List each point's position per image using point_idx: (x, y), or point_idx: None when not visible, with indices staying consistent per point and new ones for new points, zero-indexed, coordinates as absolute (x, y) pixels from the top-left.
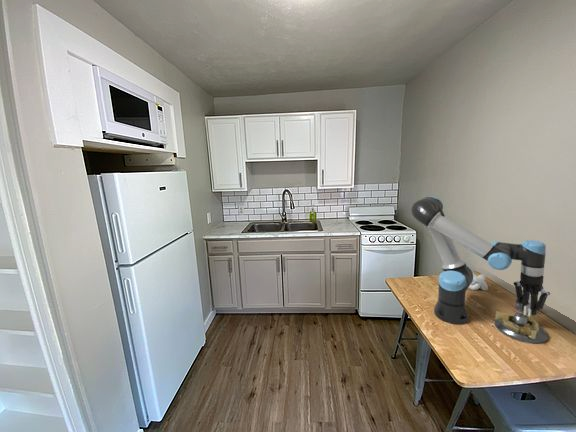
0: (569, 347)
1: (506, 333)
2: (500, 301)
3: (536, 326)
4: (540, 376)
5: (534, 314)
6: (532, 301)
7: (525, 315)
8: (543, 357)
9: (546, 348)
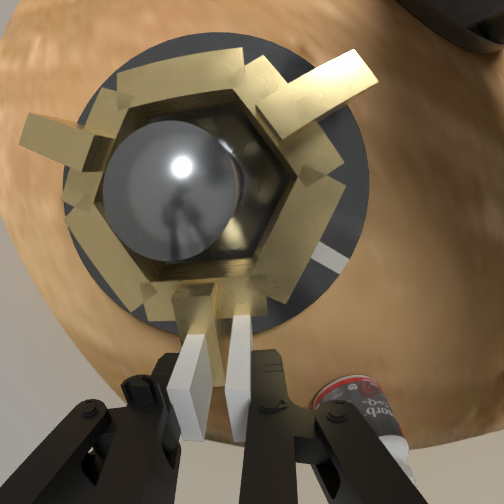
0: (42, 289)
1: (184, 38)
2: (448, 371)
3: (95, 249)
4: (8, 22)
5: (157, 363)
6: (116, 491)
7: (155, 257)
8: (25, 99)
9: (47, 172)
